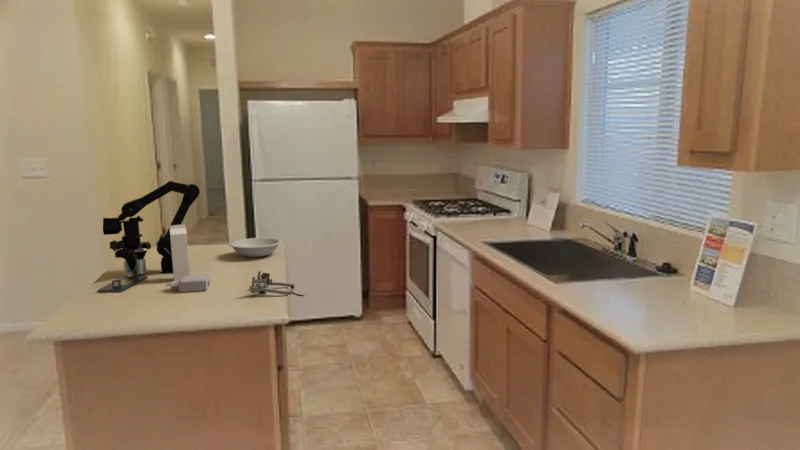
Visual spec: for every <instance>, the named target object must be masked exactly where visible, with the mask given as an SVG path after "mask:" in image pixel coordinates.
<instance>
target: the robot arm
mask: <svg viewBox="0 0 800 450" xmlns="http://www.w3.org/2000/svg"><path fill="white" fill-rule="evenodd" d="M171 192H175V193H178V194H181V195H182V198H181V202H180V204H179V206H178V208H177V210H176V213H175V214H174V217H173V218H172V220H171V223H170V225H169V226H168V228H167V230H166V232H165V233H164V234H162V233H160V235H159V238H158V240H156V244H155V246H156V251H157V253H158V255H160V256H162V257H161V261H160V268H161V269H160V273H161V274H173V264H172V252H171V241H170V226H171V225H182V224H183V222H184V219H185V217H186V215H187V214H188V211H189V209H190V207H191V206H192V205H193V204H194V202H195V201H196V199H198V196H199V195H200V187H199V186H198V185H197V184H195V183H189V184H185V183H182V182H181V183H180V182H176V181H173V180H169V181H168V180H167V182H166V183H164V184H163V185H161V186H159V187H157V188H155V189H154V190H151V191H150V192H148V193H147V194H145V195H143V196H142V197H138V198H135V199H132V200H130V201H127V202H125V203H123V205H122V207H121V209H120V211H121V213H120V214H119V215H118V216H117V217H103V219H102V231H103V233H102V234H103V235H104V236H108V235H109V236H110V235H120V232H123V236H121V239H120V240H118V241H117V240H112V241H110V242H109V249H111V250H113V252H114V257H115V258H116V259H117V258H121V259H124V261H126V262H127V263H128V266H129V268H130V270H133V269H135V266H136V261H137V259H145V256H146V254H147V252H148V250H151V249H152V244H151V243H150V242H149V241H141V237H143V235H142V233H140V223H141V222H143V221H144V218H143V217H141V216H140V215H137V214H138V213H140V212H141V211H142V210H143V209H144V208H145V207H147V206H148V205H149V204H151V203H153V202H154V201H156V200H158V199H160V198H162V197H163V196H166V195H167V194H169V193H171ZM136 215H137V216H136ZM134 216H136V217H134ZM127 218H128V219H127ZM145 249H146V250H145Z"/></svg>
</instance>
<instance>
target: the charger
mask: <svg viewBox="0 0 800 450" xmlns="http://www.w3.org/2000/svg"><path fill="white" fill-rule="evenodd" d="M210 285H211V277H210V273H208V274H190V275H186V276H183V277H182V278H181V279H180V281H174V280H172V281H171V282H170V283H169V282H168V283H166V284H165V287H169V286H170V288H171V289H178V290H179V292H180V293H191V292H192V293H194V292H195V293H196V292H207V291H208V290H209V288H210V287H211V286H210Z"/></svg>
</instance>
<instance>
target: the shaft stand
mask: <svg viewBox="0 0 800 450" xmlns="http://www.w3.org/2000/svg"><path fill="white" fill-rule="evenodd" d="M137 273H138V269H133V270H129V271H128V272H127V274H126V275H124V276H122V277H121V278H119V277H118V278H117V277H116V278H114V279H112V280H111V283H109V284H106V285H105V286H103V287H101V288H98V289H97V293H123V292H125V291H127V290H129V289H131V288H132V287H134V286H136V285H138V284H140V283H142V282H144V281H145V280H147V279H148V278H149V276H148V275H138V274H137Z"/></svg>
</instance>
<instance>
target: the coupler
mask: <svg viewBox="0 0 800 450" xmlns="http://www.w3.org/2000/svg"><path fill="white" fill-rule="evenodd" d="M146 263H147V262H146V258H144V259H137V261H136V266H135V269H138V273H137V275H142V274H144V273H146V272H147V264H146ZM123 268H124V274H125V275H127V272H128V271H129V270H130V268H129V266H128V263H127V262H126V260H124V261H123Z"/></svg>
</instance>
